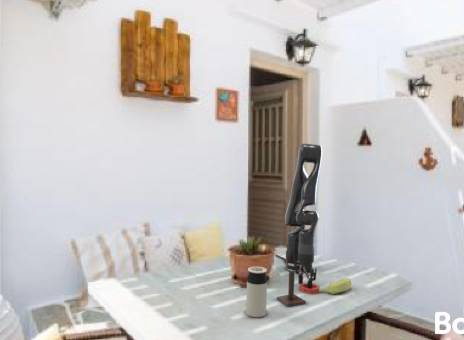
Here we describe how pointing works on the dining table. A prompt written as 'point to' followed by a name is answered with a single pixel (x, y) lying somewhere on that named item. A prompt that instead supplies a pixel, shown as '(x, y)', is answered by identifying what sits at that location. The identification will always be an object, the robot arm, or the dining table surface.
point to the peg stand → (291, 294)
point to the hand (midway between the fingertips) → (305, 286)
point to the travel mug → (256, 292)
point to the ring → (311, 291)
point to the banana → (338, 286)
